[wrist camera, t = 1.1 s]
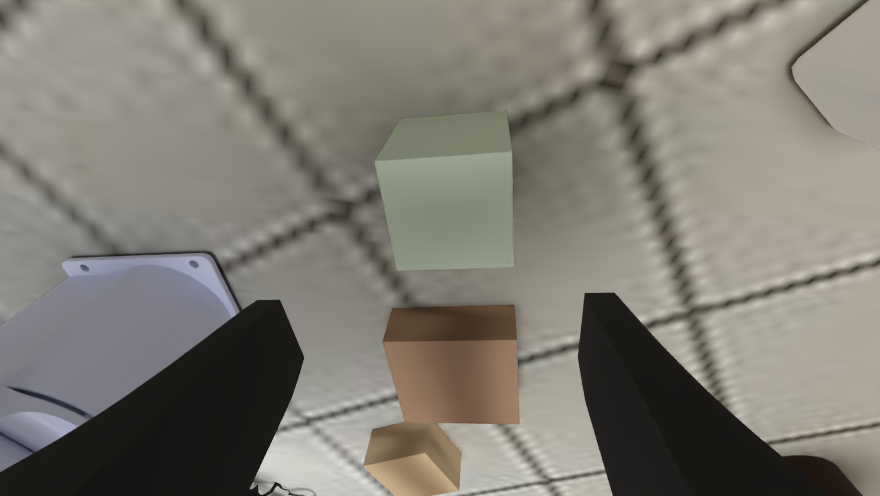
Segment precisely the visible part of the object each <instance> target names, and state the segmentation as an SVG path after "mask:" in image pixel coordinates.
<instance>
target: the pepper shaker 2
mask: <svg viewBox="0 0 880 496" xmlns="http://www.w3.org/2000/svg"><path fill="white" fill-rule="evenodd" d="M792 72H793V76H794V79H795V82H796V83H797V84H798V85H799V87H800V88H801V89H802V90H803V92H804V93H805V94H806V95H807V96H808V98H809V99H810V100H811V101H812V102H813V104H814V105H815V106H816V107H817V109H818V110H819V111H820V112H821V113H822V115H823V116H824V117H825V118H826V120H827V121H828V122H829V123H830V124H831V126H832V127H833V128H834V129H835V130H836V131H838V132H840V133H842V134H845V135H847V136H849V137H852V138H854V139H856V140H859V141H861V142H863V143H866V144H868V145H870V146H872V147H875V148H877V149H879V150H880V0H869V1H867V2H866V3H865V4H864V5H862V6H861V7H860V8H859V9H858V10H856V11H855V12H854V13H853V14H851V15H850V16H849V17H848V18H847V19H845V20H844V21H843V22H842V23H840V24H839V25H838V26H837V27H836V28H834V29H833V30H832V31H831V32H829V33H828V34H827V35H826V36H825V37H823V38H822V39H821V40H820V41H819V42H817V43H816V44H815V45H814V46H812V47H811V48H810V49H809V50H808V51H806V52H805V53H804V54H803V55H801V56H800V57H799V58H798V59H797V61H796V62H795V63H794V65H793V66H792Z"/></svg>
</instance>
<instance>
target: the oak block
mask: <svg viewBox="0 0 880 496" xmlns="http://www.w3.org/2000/svg"><path fill="white" fill-rule="evenodd" d="M363 466H364V467H365V468H366V469H367V470H368V471H369V472H370V473H371V474H372V475H373V476H374V477H375V478H376V479H377V480H379V481H380V482H381V483H382V484H383V485H384V486H385V487H386V488H387V489H388V490H389V491H390V492H391V493H392V494H393V495H394V496H431V495H437V494H443V493H448V492H454V491H459V485H460V466H461V452H460V451H459V450H458V449H457V448H456V446H455V445H454V444H453V443H452V442H451V440H450V439H449V438H448V437H447V436H446V434H445V433H444V432H443V431H442V430H441V428H440V427H439V426H438V425H437V424H436V423H417V422H402V423H398V424H394V425H390V426H386V427H382V428H377V429H373V430H372V434H371V438H370V442H369V446H368V449H367V453H366V457H365V461H364V465H363Z"/></svg>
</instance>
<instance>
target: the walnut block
mask: <svg viewBox="0 0 880 496" xmlns="http://www.w3.org/2000/svg"><path fill="white" fill-rule="evenodd" d="M383 345H384V349H385V352H386V356H387V360H388V363H389V367H390V370H391V374H392V377H393V381H394V385H395V388H396V392H397V395H398V399H399V402H400V406H401V409H402V413H403V417H404V420H405V422H417V423H475V424H520V420H519V390H518V359H517V335H516V322H515V309H514V305H497V306H462V307H428V308H394V309H392V312H391V315H390V319H389V322H388V325H387V329H386V332H385V335H384V339H383Z"/></svg>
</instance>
